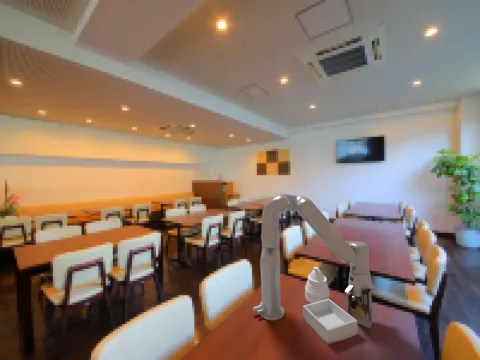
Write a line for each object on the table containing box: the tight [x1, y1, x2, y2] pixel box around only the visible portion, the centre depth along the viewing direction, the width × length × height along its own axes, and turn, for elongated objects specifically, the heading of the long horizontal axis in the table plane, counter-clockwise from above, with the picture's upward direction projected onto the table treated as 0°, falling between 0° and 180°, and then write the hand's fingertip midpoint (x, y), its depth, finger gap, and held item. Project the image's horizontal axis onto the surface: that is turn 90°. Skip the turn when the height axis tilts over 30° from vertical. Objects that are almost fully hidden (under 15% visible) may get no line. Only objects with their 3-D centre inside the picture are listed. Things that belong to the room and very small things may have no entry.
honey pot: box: [304, 266, 331, 304], centre depth 112 cm, size 13×13×18 cm
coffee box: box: [346, 283, 374, 329], centre depth 94 cm, size 9×6×16 cm
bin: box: [302, 299, 359, 346], centre depth 92 cm, size 16×17×6 cm
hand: (360, 305), depth 94 cm, fingers closed on coffee box, 8 cm apart
